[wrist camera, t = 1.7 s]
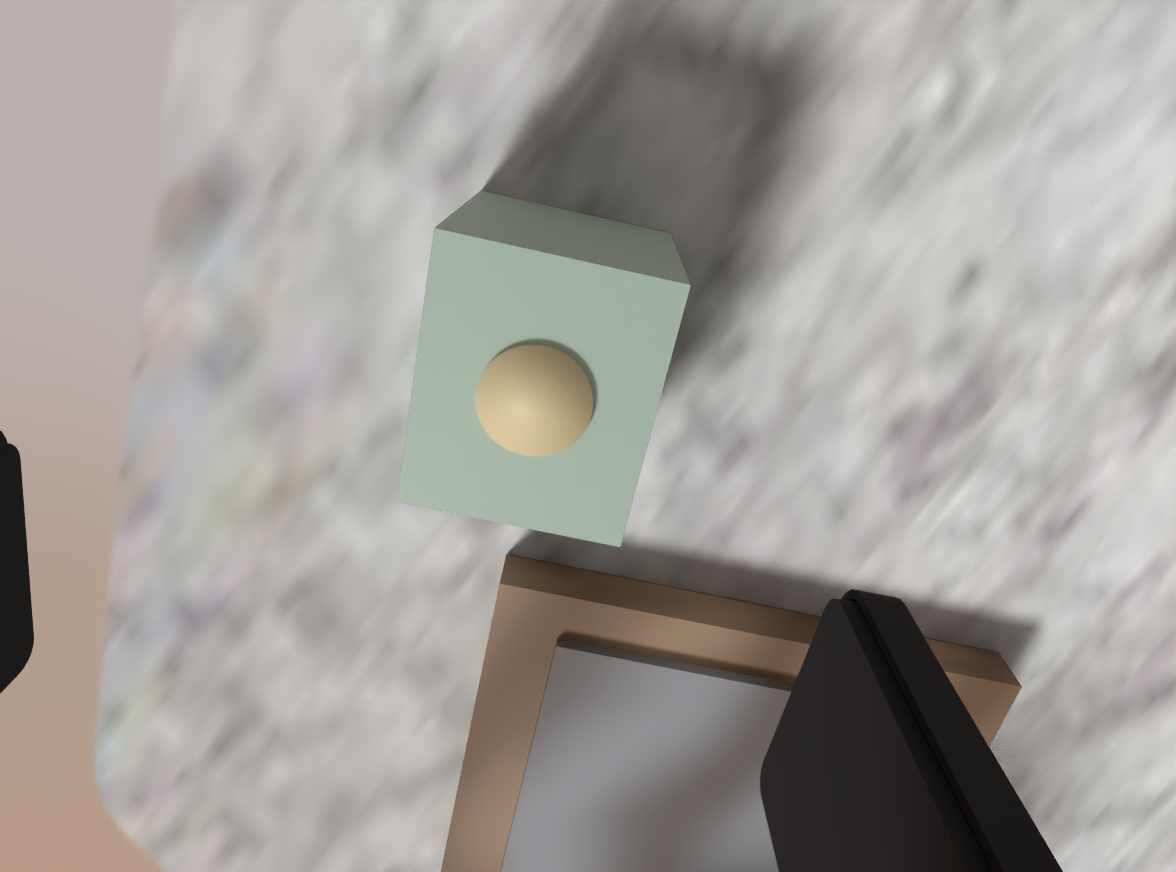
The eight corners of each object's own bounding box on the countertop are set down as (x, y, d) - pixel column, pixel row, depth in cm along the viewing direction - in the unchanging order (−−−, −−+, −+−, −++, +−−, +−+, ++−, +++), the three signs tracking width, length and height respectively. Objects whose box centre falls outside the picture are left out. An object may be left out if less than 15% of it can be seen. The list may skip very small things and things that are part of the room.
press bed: (998, 652, 26) (1028, 695, 24) (859, 920, 31) (874, 973, 29) (506, 554, 25) (497, 591, 23) (446, 847, 30) (435, 897, 28)
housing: (670, 233, 21) (691, 287, 15) (618, 438, 24) (620, 551, 18) (481, 190, 21) (432, 229, 15) (448, 403, 23) (395, 505, 18)
